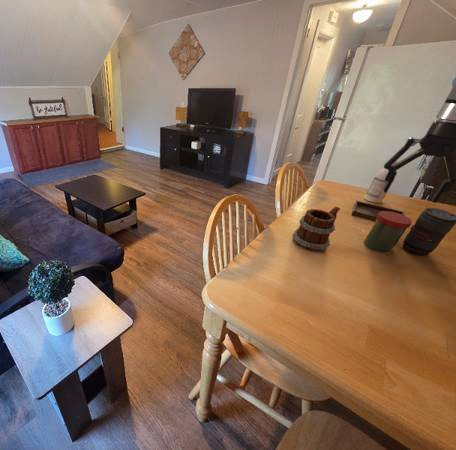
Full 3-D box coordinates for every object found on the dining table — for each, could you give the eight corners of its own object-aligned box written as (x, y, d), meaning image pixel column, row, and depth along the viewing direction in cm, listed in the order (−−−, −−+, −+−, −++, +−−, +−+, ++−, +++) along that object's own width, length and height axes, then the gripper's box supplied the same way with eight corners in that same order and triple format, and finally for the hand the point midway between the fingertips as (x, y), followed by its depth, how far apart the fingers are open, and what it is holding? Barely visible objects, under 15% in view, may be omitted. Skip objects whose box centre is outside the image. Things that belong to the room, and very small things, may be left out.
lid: (408, 221, 83) (411, 216, 82) (409, 231, 77) (413, 226, 76) (376, 213, 87) (379, 208, 86) (375, 222, 82) (378, 218, 81)
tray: (401, 215, 106) (404, 211, 105) (402, 228, 98) (405, 224, 97) (354, 204, 116) (356, 200, 114) (351, 214, 107) (353, 210, 106)
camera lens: (401, 252, 85) (427, 214, 77) (398, 240, 90) (421, 205, 82) (433, 260, 81) (463, 222, 73) (427, 248, 87) (455, 211, 79)
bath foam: (375, 197, 122) (396, 157, 112) (385, 203, 116) (408, 162, 106) (360, 196, 123) (380, 157, 112) (369, 202, 117) (391, 161, 106)
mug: (282, 238, 91) (299, 201, 84) (305, 234, 98) (323, 200, 91) (311, 256, 82) (333, 216, 75) (334, 250, 89) (356, 214, 82)
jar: (391, 245, 88) (409, 217, 82) (391, 256, 83) (410, 227, 77) (364, 237, 92) (379, 210, 86) (362, 247, 87) (378, 219, 81)
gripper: (516, 124, 62) (458, 202, 73) (397, 115, 74) (363, 183, 86) (527, 128, 57) (463, 211, 68) (397, 118, 69) (362, 189, 81)
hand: (408, 195), depth 77 cm, fingers open, 11 cm apart
